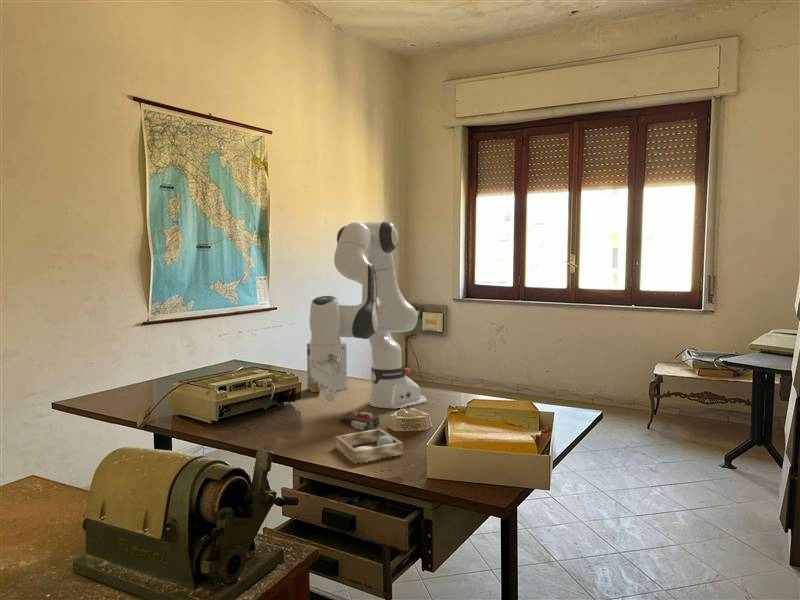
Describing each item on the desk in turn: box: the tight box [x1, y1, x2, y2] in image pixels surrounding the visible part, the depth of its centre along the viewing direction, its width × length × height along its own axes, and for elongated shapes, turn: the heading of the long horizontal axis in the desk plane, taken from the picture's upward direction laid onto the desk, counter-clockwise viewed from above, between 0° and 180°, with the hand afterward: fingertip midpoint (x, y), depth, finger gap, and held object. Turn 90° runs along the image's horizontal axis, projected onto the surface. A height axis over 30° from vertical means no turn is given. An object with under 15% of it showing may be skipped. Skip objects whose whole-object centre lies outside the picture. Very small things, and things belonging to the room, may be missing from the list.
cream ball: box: [318, 389, 334, 406], centre depth 166 cm, size 5×5×5 cm
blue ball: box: [376, 436, 393, 447], centre depth 165 cm, size 5×5×5 cm
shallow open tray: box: [334, 428, 404, 465], centre depth 166 cm, size 15×15×4 cm
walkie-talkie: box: [339, 410, 386, 432], centre depth 190 cm, size 9×4×20 cm
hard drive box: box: [306, 340, 348, 393], centre depth 240 cm, size 16×8×20 cm, turn 115°
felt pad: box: [355, 445, 373, 450], centre depth 167 cm, size 6×6×1 cm
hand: (327, 398), depth 166 cm, fingers closed on cream ball, 5 cm apart
